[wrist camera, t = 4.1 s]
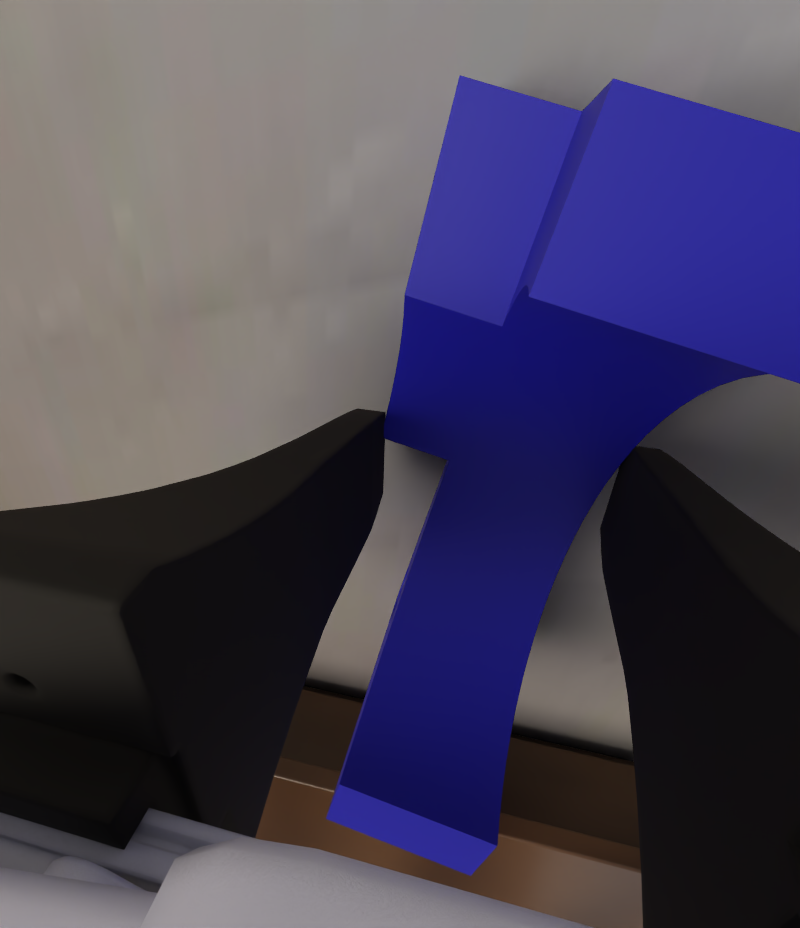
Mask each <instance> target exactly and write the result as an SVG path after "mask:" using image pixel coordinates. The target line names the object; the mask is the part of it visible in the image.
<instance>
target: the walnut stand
mask: <svg viewBox="0 0 800 928" xmlns="http://www.w3.org/2000/svg"><path fill="white" fill-rule="evenodd" d="M363 702H364V700H363V699H359V698H355V697H350V696H346V695H342V694H337V693H333V692H329V691H324V690H320V689H316V688H311V687H307V686H303V689H302V692H301V695H300V698H299V701H298V704H297V707H296V710H295V713H294V715H293V718H292V721H291V724H290V728H289V731H288V734H287V737H286V740H285V743H284V746H283V749H282V752H281V756H280V759H279V762H278V765H277V768H276V771H275V774H274V777H273V781H272V784H271V787H270V791H269V794H268V797H267V800H266V804H265V807H264V810H263V814H262V817H261V820H260V824H259V827H258V830H257V834H256V837H255V838H256V839H259V840H265V841H272V842H278V843H284V844H290V845H297V846H303V847H309V848H315V849H320V850H323V851H327V852H330V853H334V854H337V855H341V856H344V857H348V858H351V859H355V860H358V861H362V862H365V863H369V864H372V865H376V866H379V867H383V868H386V869H390V870H393V871H397V872H400V873H404V874H407V875H411V876H414V877H418V878H421V879H425V880H428V881H432V882H435V883H439V884H442V885H446V886H449V887H453V888H456V889H460V890H463V891H467V892H471V893H474V894H478V895H481V896H485V897H488V898H492V899H495V900H499V901H502V902H506V903H509V904H513V905H516V906H520V907H523V908H527V909H530V910H534V911H537V912H541V913H544V914H548V915H551V916H555V917H558V918H562V919H565V920H569V921H572V922H576V923H579V924H583V925H586V926H590V927H593V928H643V912H642V882H641V862H640V844H639V825H638V807H637V794H636V781H635V768H634V762H633V761H629V760H624V759H620V758H616V757H611V756H607V755H603V754H598V753H594V752H590V751H585V750H581V749H576V748H572V747H568V746H563V745H559V744H555V743H550V742H546V741H542V740H537V739H533V738H529V737H524V736H520V735H516V734H511V736H510V742H509V748H508V754H507V760H506V767H505V775H504V782H503V790H502V799H501V809H500V819H499V832H498V846H497V847H496V848H495V849H494V850H493V852H492V853H491V854H490V855H489V856H488V857H487V858H486V859H485V860H484V862H483V863H482V864H481V865H480V866H479V867H478V868H477V869H476V870H475V872H474V873H473V874H472V875H471V876H469V875H467V874H464V873H462V872H459V871H457V870H454V869H452V868H449V867H447V866H444V865H442V864H439V863H436V862H434V861H431V860H429V859H426V858H424V857H421V856H419V855H416V854H414V853H411V852H409V851H406V850H404V849H401V848H399V847H396V846H393V845H391V844H388V843H386V842H383V841H381V840H378V839H376V838H373V837H371V836H368V835H366V834H363V833H361V832H358V831H355V830H353V829H350V828H348V827H345V826H343V825H340V824H338V823H335V822H333V821H330V820H328V819H326V817H327V813H328V810H329V807H330V804H331V801H332V798H333V795H334V792H335V789H336V786H337V782H338V779H339V776H340V773H341V770H342V767H343V764H344V761H345V758H346V754H347V751H348V748H349V745H350V742H351V739H352V736H353V733H354V730H355V727H356V723H357V720H358V717H359V714H360V711H361V708H362V705H363Z"/></svg>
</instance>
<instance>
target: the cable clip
mask: <svg viewBox="0 0 800 928" xmlns="http://www.w3.org/2000/svg"><path fill="white" fill-rule="evenodd" d="M764 374H772V375H775V376H778V377H781V378H784V379H787V380H790V381H794V382H797V383H800V133H799V132H795V131H792V130H789V129H785V128H782V127H778V126H775V125H771V124H768V123H764V122H761V121H758V120H754V119H751V118H747V117H744V116H740V115H737V114H733V113H730V112H727V111H723V110H720V109H716V108H713V107H709V106H706V105H702V104H699V103H696V102H692V101H689V100H685V99H682V98H678V97H675V96H671V95H668V94H665V93H661V92H658V91H654V90H651V89H647V88H644V87H640V86H637V85H633V84H630V83H627V82H623V81H620V80H616V79H613V80H612V81H611V82H610V83H609V84H608V85H607V86H606V87H605V88H604V89H603V90H602V91H601V92H600V93H599V94H598V95H597V96H596V97H595V98H594V100H593V101H592V102H591V103H590V104H589V105H588V106H587V107H586V108H585V109H584V110H583V111H579V110H575V109H572V108H569V107H565V106H562V105H558V104H555V103H552V102H548V101H545V100H541V99H538V98H535V97H531V96H528V95H525V94H521V93H518V92H514V91H511V90H508V89H504V88H501V87H497V86H494V85H491V84H487V83H484V82H480V81H477V80H474V79H470V78H467V77H464V76H460V77H459V81H458V85H457V89H456V93H455V97H454V101H453V105H452V109H451V113H450V117H449V121H448V125H447V129H446V132H445V136H444V140H443V144H442V148H441V152H440V156H439V160H438V164H437V168H436V172H435V176H434V180H433V184H432V188H431V192H430V196H429V200H428V204H427V208H426V212H425V216H424V220H423V224H422V228H421V232H420V236H419V240H418V244H417V248H416V252H415V256H414V260H413V264H412V268H411V272H410V276H409V280H408V284H407V288H406V292H405V302H404V319H403V329H402V337H401V344H400V351H399V357H398V363H397V368H396V374H395V378H394V383H393V388H392V393H391V397H390V402H389V406H388V410H387V414H386V418H385V422H384V438H385V439H388V440H391V441H394V442H396V443H399V444H402V445H405V446H408V447H411V448H414V449H417V450H420V451H423V452H426V453H428V454H431V455H434V456H437V457H440V458H443V459H446V460H447V462H446V465H445V467H444V470H443V473H442V476H441V478H440V481H439V484H438V487H437V489H436V492H435V495H434V498H433V500H432V503H431V506H430V509H429V511H428V514H427V517H426V520H425V522H424V525H423V528H422V531H421V533H420V536H419V539H418V542H417V544H416V547H415V550H414V553H413V555H412V558H411V561H410V564H409V566H408V569H407V572H406V574H405V577H404V580H403V583H402V585H401V588H400V591H399V594H398V596H397V599H396V602H395V605H394V609H393V612H392V615H391V618H390V621H389V624H388V627H387V630H386V633H385V637H384V640H383V643H382V646H381V649H380V652H379V655H378V658H377V661H376V664H375V668H374V671H373V674H372V677H371V680H370V683H369V686H368V689H367V692H366V696H365V699H364V702H363V705H362V708H361V711H360V714H359V717H358V720H357V723H356V727H355V730H354V733H353V736H352V739H351V742H350V745H349V748H348V751H347V754H346V758H345V761H344V764H343V767H342V770H341V773H340V776H339V779H338V782H337V786H336V789H335V792H334V795H333V798H332V801H331V804H330V807H329V810H328V813H327V817H326V819H328V820H330V821H333V822H335V823H338V824H340V825H343V826H345V827H348V828H350V829H353V830H355V831H358V832H361V833H363V834H366V835H368V836H371V837H373V838H376V839H378V840H381V841H383V842H386V843H388V844H391V845H393V846H396V847H399V848H401V849H404V850H406V851H409V852H411V853H414V854H416V855H419V856H421V857H424V858H426V859H429V860H431V861H434V862H436V863H439V864H442V865H444V866H447V867H449V868H452V869H454V870H457V871H459V872H462V873H464V874H467V875H469V876H471V875H472V874H473V873H474V872H475V870H476V869H477V868H478V867H479V866H480V865H481V864H482V863H483V862H484V860H485V859H486V858H487V857H488V856H489V855H490V854H491V853H492V852H493V850H494V849H495V848H496V847H497V846H498V832H499V819H500V809H501V799H502V790H503V782H504V775H505V767H506V760H507V754H508V748H509V742H510V736H511V730H512V725H513V720H514V715H515V710H516V705H517V701H518V696H519V692H520V688H521V683H522V679H523V675H524V672H525V668H526V664H527V660H528V657H529V653H530V650H531V646H532V643H533V639H534V636H535V633H536V630H537V627H538V624H539V621H540V618H541V615H542V612H543V609H544V607H545V604H546V601H547V598H548V596H549V593H550V591H551V588H552V586H553V583H554V581H555V578H556V576H557V573H558V571H559V569H560V566H561V564H562V562H563V560H564V557H565V555H566V553H567V551H568V549H569V547H570V545H571V543H572V541H573V539H574V537H575V535H576V533H577V531H578V529H579V527H580V526H581V524H582V522H583V520H584V518H585V516H586V515H587V513H588V511H589V510H590V508H591V506H592V505H593V503H594V501H595V500H596V498H597V497H598V495H599V494H600V492H601V491H602V489H603V488H604V486H605V485H606V483H607V482H608V480H609V479H610V478H611V476H612V475H613V474H614V472H615V471H616V470H617V468H618V467H619V465H620V464H621V463H622V462H623V461H624V459H625V458H626V457H627V456H628V455H629V454H630V452H631V451H632V450H633V449H634V448H635V447H636V446H637V445H638V444H639V443H640V441H641V440H642V439H643V438H644V437H645V436H646V435H647V434H648V433H649V432H650V431H651V430H653V429H654V428H655V427H656V426H657V425H658V424H659V423H660V422H661V421H663V420H664V419H665V418H666V417H668V416H669V415H670V414H672V413H673V412H674V411H676V410H677V409H678V408H679V407H681V406H682V405H684V404H686V403H687V402H689V401H691V400H692V399H694V398H695V397H697V396H699V395H701V394H703V393H705V392H707V391H709V390H711V389H713V388H715V387H717V386H720V385H723V384H726V383H729V382H732V381H735V380H738V379H741V378H746V377H752V376H758V375H764Z"/></svg>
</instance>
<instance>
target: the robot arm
mask: <svg viewBox="0 0 800 928" xmlns="http://www.w3.org/2000/svg"><path fill="white" fill-rule="evenodd" d="M384 422H385V412H380V411H372V410H365V409H355V410H352V411H350V412H348V413H346V414H344V415H342V416H340V417H338V418H336V419H334V420H332V421H330V422H328V423H326V424H324V425H322V426H320V427H318V428H317V429H315V430H313V431H311V432H309V433H307V434H305V435H303V436H301V437H299V438H297V439H295V440H293V441H291V442H288V443H286V444H284V445H282V446H280V447H277V448H275V449H273V450H271V451H268V452H266V453H264V454H262V455H260V456H257V457H255V458H252V459H250V460H247V461H245V462H242V463H239V464H237V465H234V466H231V467H228V468H225V469H222V470H219V471H216V472H213V473H210V474H207V475H204V476H200V477H196V478H192V479H189V480H185V481H181V482H177V483H173V484H169V485H165V486H162V487H158V488H154V489H149V490H145V491H140V492H135V493H130V494H125V495H120V496H114V497H108V498H102V499H96V500H90V501H84V502H77V503H70V504H61V505H52V506H43V507H34V508H25V509H16V510H7V511H0V928H593V927H590V926H586V925H583V924H579V923H576V922H572V921H569V920H565V919H562V918H558V917H555V916H551V915H548V914H544V913H541V912H537V911H534V910H530V909H527V908H523V907H520V906H516V905H513V904H509V903H506V902H502V901H499V900H495V899H492V898H488V897H485V896H481V895H478V894H474V893H471V892H467V891H463V890H460V889H456V888H453V887H449V886H446V885H442V884H439V883H435V882H432V881H428V880H425V879H421V878H418V877H414V876H411V875H407V874H404V873H400V872H397V871H393V870H390V869H386V868H383V867H379V866H376V865H372V864H369V863H365V862H362V861H358V860H355V859H351V858H348V857H344V856H341V855H337V854H334V853H330V852H327V851H323V850H320V849H315V848H309V847H303V846H297V845H290V844H284V843H278V842H272V841H265V840H259V839H256V838H255V837H256V834H257V830H258V827H259V824H260V820H261V817H262V814H263V810H264V807H265V804H266V800H267V797H268V794H269V791H270V787H271V784H272V781H273V777H274V774H275V771H276V768H277V765H278V762H279V759H280V756H281V752H282V749H283V746H284V743H285V740H286V737H287V734H288V731H289V728H290V724H291V721H292V718H293V715H294V713H295V710H296V707H297V704H298V701H299V698H300V695H301V692H302V689H303V686H304V683H305V680H306V677H307V674H308V672H309V669H310V666H311V663H312V661H313V658H314V655H315V652H316V649H317V647H318V644H319V641H320V638H321V636H322V633H323V630H324V628H325V625H326V623H327V621H328V619H329V616H330V614H331V612H332V609H333V607H334V605H335V603H336V601H337V599H338V597H339V595H340V593H341V591H342V589H343V587H344V585H345V583H346V581H347V579H348V577H349V575H350V573H351V571H352V569H353V567H354V565H355V563H356V561H357V559H358V557H359V554H360V552H361V550H362V548H363V546H364V544H365V542H366V540H367V538H368V536H369V534H370V531H371V529H372V526H373V523H374V520H375V517H376V514H377V511H378V508H379V505H380V501H381V498H382V495H383V480H384V446H385V438H384ZM600 534H601V555H602V569H603V575H604V580H605V585H606V590H607V595H608V599H609V604H610V609H611V614H612V618H613V623H614V627H615V632H616V637H617V641H618V646H619V651H620V655H621V660H622V665H623V669H624V675H625V681H626V687H627V693H628V702H629V712H630V723H631V733H632V743H633V755H634V768H635V781H636V794H637V807H638V825H639V844H640V862H641V882H642V912H643V928H800V552H799V551H798V550H796V549H795V548H793V547H791V546H790V545H788V544H787V543H785V542H784V541H783V540H781V539H780V538H778V537H777V536H775V535H774V534H773V533H771V532H770V531H768V530H767V529H765V528H764V527H763V526H761V525H760V524H758V523H757V522H755V521H754V520H753V519H751V518H750V517H749V516H747V515H746V514H745V513H743V512H742V511H740V510H739V509H738V508H736V507H735V506H734V505H733V504H731V503H730V502H729V501H727V500H726V499H725V498H724V497H722V496H721V495H720V494H718V493H717V492H716V491H715V490H713V489H712V488H711V487H710V486H708V485H707V484H706V483H705V482H703V481H702V480H701V479H700V478H698V477H697V476H696V475H694V474H693V473H692V472H691V471H689V470H688V469H687V468H686V467H684V466H683V465H682V464H681V463H679V462H678V461H677V460H675V459H674V458H673V457H671V456H670V455H668V454H667V453H665V452H664V451H662V450H660V449H653V448H645V447H638V446H636V447H635V448H634V449H633V450H632V451H631V452H630V454H629V455H628V456H627V457H626V458H625V459H624V461H623V462H622V463H621V464H620V468H619V471H618V474H617V477H616V480H615V483H614V486H613V490H612V493H611V496H610V499H609V502H608V505H607V508H606V512H605V515H604V518H603V521H602V524H601V527H600Z"/></svg>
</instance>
